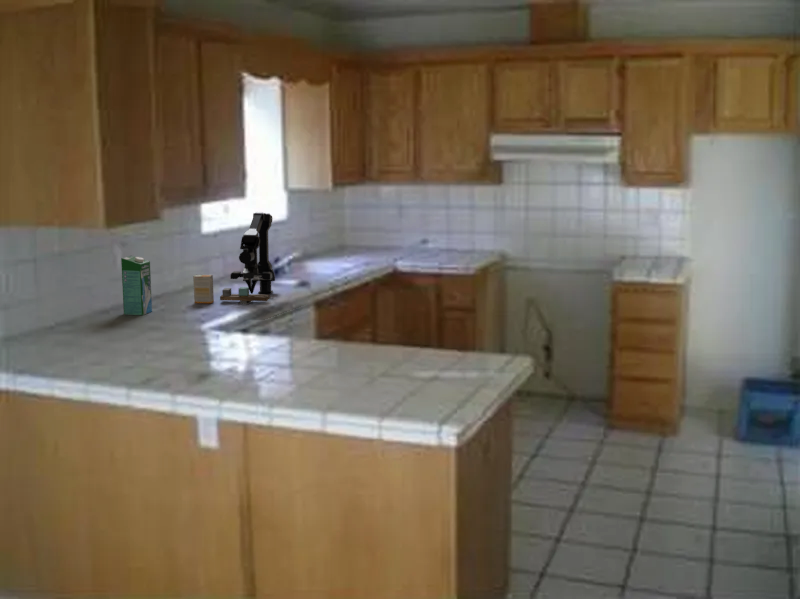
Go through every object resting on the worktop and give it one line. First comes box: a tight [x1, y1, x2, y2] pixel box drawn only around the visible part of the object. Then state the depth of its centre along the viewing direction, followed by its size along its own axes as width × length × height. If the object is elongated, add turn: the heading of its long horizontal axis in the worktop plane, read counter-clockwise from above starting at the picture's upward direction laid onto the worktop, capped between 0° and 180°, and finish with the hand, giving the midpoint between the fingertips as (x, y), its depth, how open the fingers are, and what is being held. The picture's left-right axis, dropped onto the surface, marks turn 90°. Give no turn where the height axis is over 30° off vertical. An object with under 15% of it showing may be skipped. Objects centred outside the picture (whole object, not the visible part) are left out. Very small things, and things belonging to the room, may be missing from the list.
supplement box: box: [192, 274, 215, 305], centre depth 431 cm, size 8×5×13 cm, turn 84°
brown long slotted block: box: [219, 287, 270, 305], centre depth 433 cm, size 9×22×6 cm, turn 88°
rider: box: [238, 286, 250, 296], centre depth 432 cm, size 5×4×5 cm
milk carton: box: [120, 255, 153, 316], centre depth 405 cm, size 9×9×25 cm
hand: (251, 293), depth 432 cm, fingers closed
